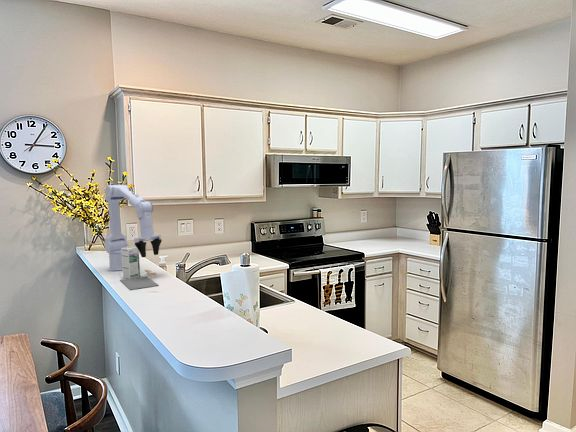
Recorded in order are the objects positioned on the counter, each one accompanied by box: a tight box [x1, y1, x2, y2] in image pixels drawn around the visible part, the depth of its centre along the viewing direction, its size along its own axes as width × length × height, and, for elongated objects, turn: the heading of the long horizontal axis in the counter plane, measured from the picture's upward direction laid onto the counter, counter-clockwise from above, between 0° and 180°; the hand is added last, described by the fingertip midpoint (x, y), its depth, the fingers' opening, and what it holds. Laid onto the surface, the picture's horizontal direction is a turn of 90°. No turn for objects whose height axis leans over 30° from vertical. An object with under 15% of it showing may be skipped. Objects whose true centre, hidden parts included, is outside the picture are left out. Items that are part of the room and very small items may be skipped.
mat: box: [119, 275, 160, 291], centre depth 187 cm, size 20×12×1 cm, turn 33°
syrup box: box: [121, 245, 141, 279], centre depth 198 cm, size 6×6×14 cm
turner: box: [144, 268, 157, 276], centre depth 207 cm, size 12×4×1 cm, turn 33°
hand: (150, 256), depth 195 cm, fingers open, 7 cm apart
